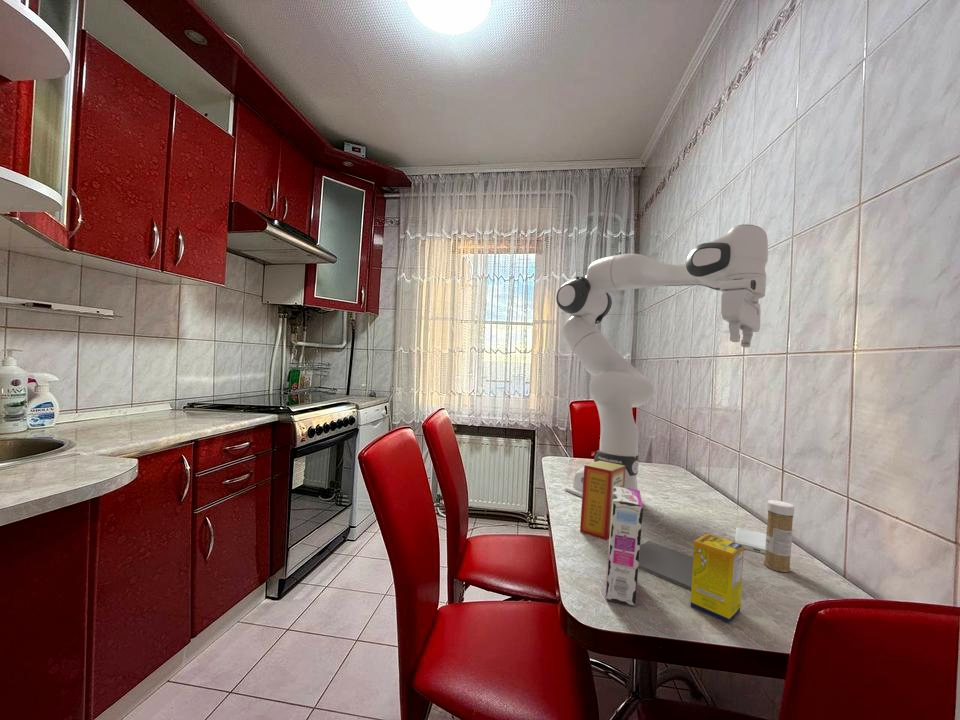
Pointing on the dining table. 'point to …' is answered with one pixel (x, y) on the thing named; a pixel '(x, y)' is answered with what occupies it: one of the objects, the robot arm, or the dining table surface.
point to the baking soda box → (599, 496)
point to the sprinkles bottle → (779, 535)
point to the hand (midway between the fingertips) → (740, 344)
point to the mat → (666, 563)
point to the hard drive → (751, 540)
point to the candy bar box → (624, 546)
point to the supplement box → (717, 577)
